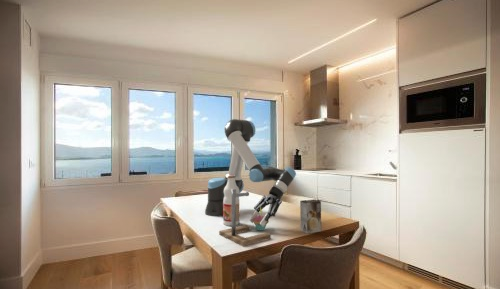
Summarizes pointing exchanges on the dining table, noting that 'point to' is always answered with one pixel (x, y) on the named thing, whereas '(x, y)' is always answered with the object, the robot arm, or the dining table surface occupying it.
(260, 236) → the wooden u-shaped base
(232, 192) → the hook post
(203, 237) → the dining table surface
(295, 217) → the dining table surface
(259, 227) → the cupcake
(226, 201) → the fruit juice
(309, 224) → the coffee box
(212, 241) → the dining table surface
